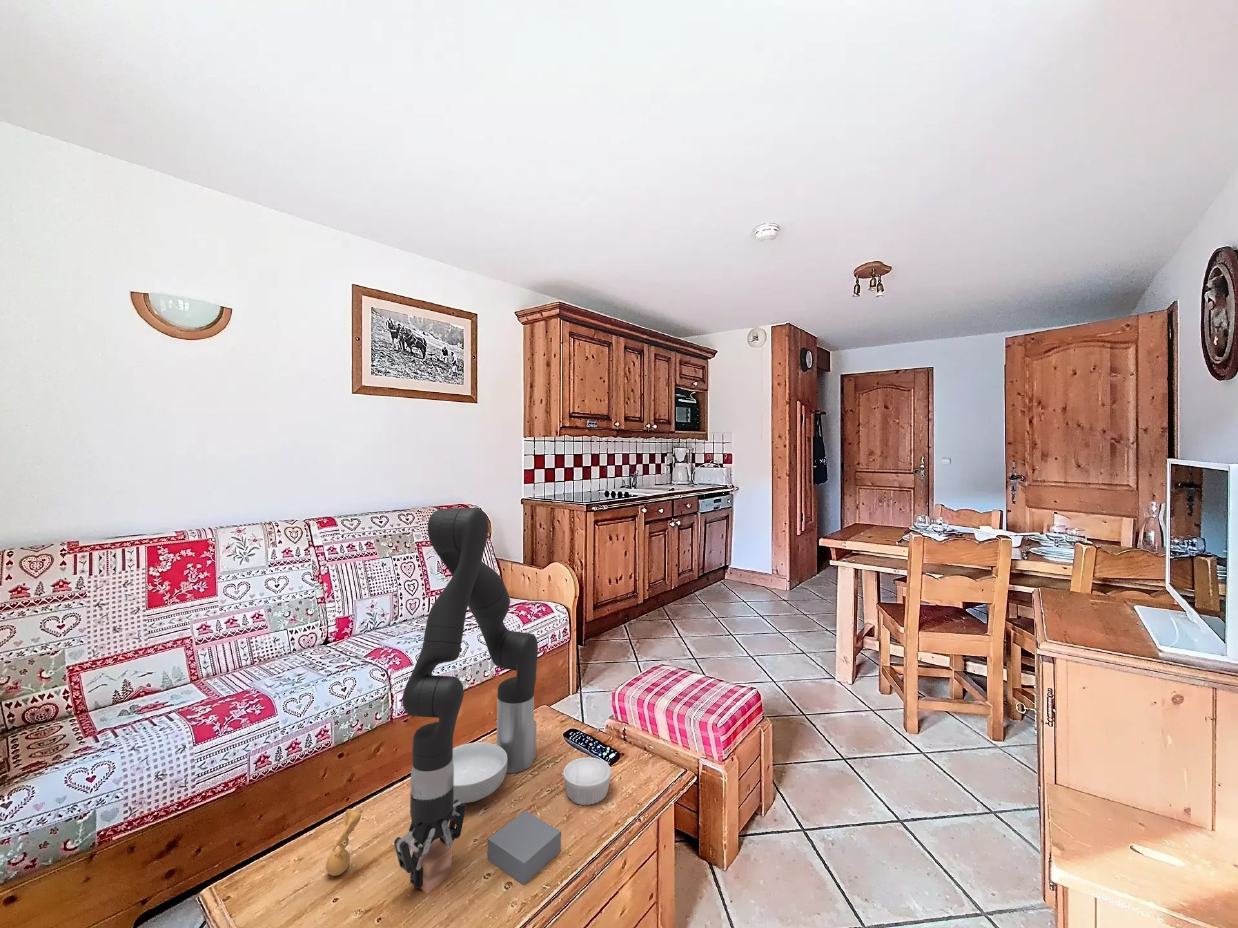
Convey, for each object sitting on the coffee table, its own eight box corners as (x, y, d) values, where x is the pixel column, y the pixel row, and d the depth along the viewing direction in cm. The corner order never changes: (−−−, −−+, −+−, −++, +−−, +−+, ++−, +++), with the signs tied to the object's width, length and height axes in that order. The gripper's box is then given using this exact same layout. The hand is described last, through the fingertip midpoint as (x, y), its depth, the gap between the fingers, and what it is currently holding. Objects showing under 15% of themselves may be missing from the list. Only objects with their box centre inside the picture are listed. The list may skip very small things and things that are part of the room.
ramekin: (554, 788, 120) (554, 766, 120) (593, 772, 127) (593, 751, 127) (579, 816, 111) (579, 792, 111) (620, 796, 118) (620, 774, 118)
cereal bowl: (475, 761, 130) (475, 733, 130) (522, 785, 121) (522, 756, 121) (416, 796, 116) (416, 766, 116) (463, 828, 107) (464, 794, 107)
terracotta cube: (434, 862, 98) (435, 836, 98) (451, 875, 95) (451, 848, 95) (411, 879, 94) (411, 852, 94) (427, 893, 91) (427, 865, 91)
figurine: (339, 854, 99) (340, 793, 99) (370, 855, 99) (371, 794, 99) (314, 891, 91) (314, 824, 91) (347, 891, 91) (348, 825, 91)
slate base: (524, 829, 107) (525, 810, 107) (560, 850, 101) (560, 831, 101) (487, 859, 99) (487, 838, 99) (523, 884, 93) (524, 863, 93)
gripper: (452, 758, 102) (451, 842, 102) (384, 796, 90) (383, 891, 91) (476, 772, 98) (475, 860, 98) (408, 814, 86) (407, 913, 86)
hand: (431, 874), depth 94 cm, fingers closed on terracotta cube, 5 cm apart
